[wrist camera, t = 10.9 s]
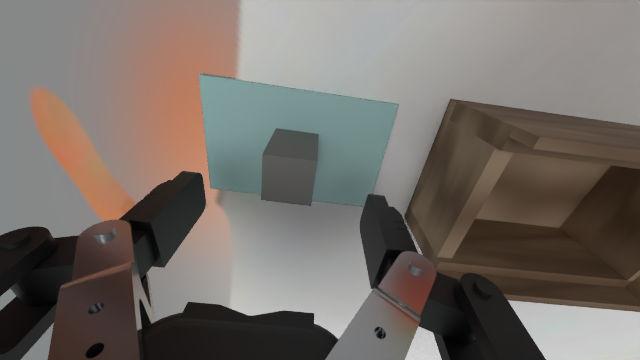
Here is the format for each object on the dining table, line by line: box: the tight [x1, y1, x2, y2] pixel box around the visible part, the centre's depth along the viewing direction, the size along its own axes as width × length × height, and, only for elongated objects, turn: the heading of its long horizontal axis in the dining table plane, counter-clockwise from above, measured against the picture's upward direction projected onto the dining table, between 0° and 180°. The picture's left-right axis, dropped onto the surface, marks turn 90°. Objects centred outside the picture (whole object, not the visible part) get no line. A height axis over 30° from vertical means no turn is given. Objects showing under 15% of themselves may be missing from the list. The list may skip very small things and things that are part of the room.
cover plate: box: [199, 73, 399, 207], centre depth 16 cm, size 8×13×5 cm, turn 82°
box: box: [405, 99, 640, 312], centre depth 15 cm, size 10×14×7 cm
